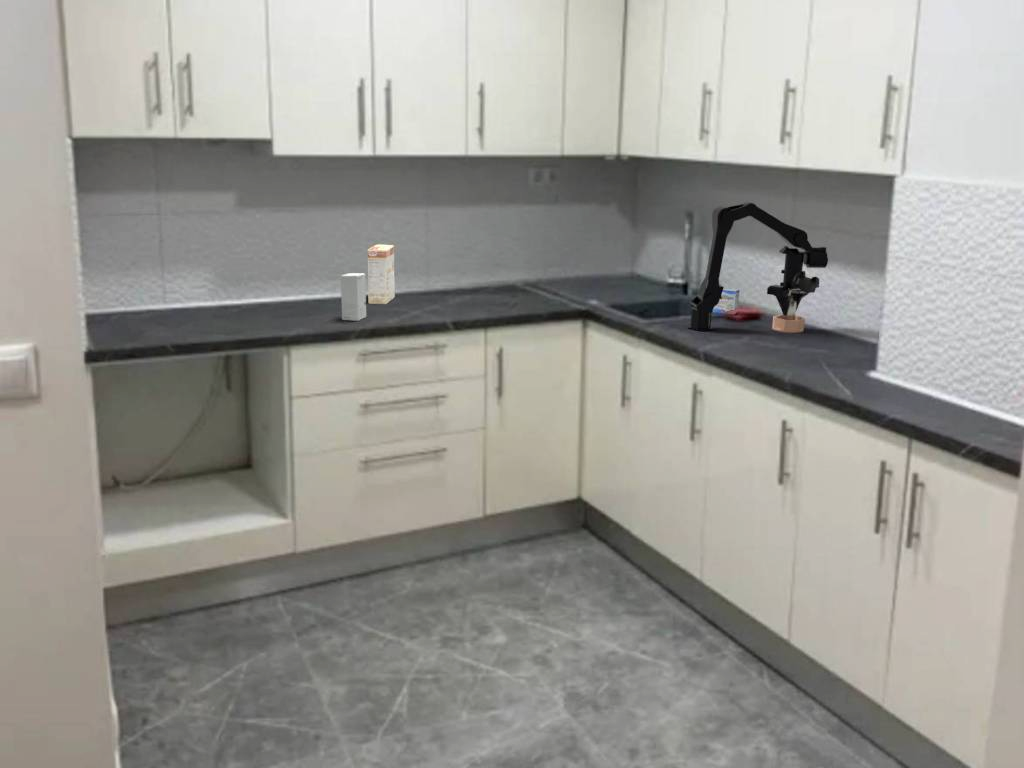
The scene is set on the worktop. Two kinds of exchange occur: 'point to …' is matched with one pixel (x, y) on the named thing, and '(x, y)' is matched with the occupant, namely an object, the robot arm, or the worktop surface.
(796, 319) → the cup
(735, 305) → the medicine box
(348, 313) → the skincare box
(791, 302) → the battery cell
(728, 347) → the worktop surface
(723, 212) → the robot arm
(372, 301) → the coffeecake box
